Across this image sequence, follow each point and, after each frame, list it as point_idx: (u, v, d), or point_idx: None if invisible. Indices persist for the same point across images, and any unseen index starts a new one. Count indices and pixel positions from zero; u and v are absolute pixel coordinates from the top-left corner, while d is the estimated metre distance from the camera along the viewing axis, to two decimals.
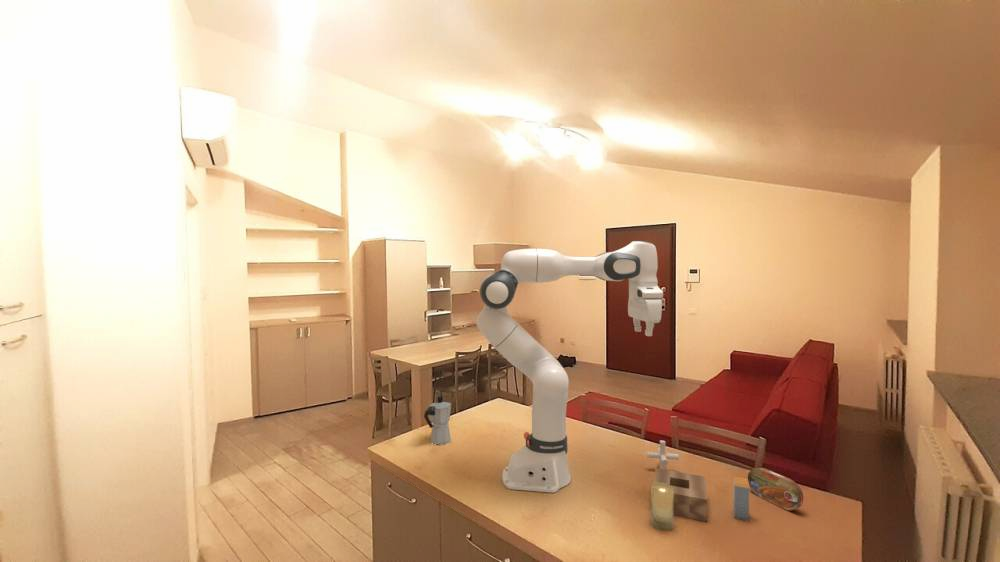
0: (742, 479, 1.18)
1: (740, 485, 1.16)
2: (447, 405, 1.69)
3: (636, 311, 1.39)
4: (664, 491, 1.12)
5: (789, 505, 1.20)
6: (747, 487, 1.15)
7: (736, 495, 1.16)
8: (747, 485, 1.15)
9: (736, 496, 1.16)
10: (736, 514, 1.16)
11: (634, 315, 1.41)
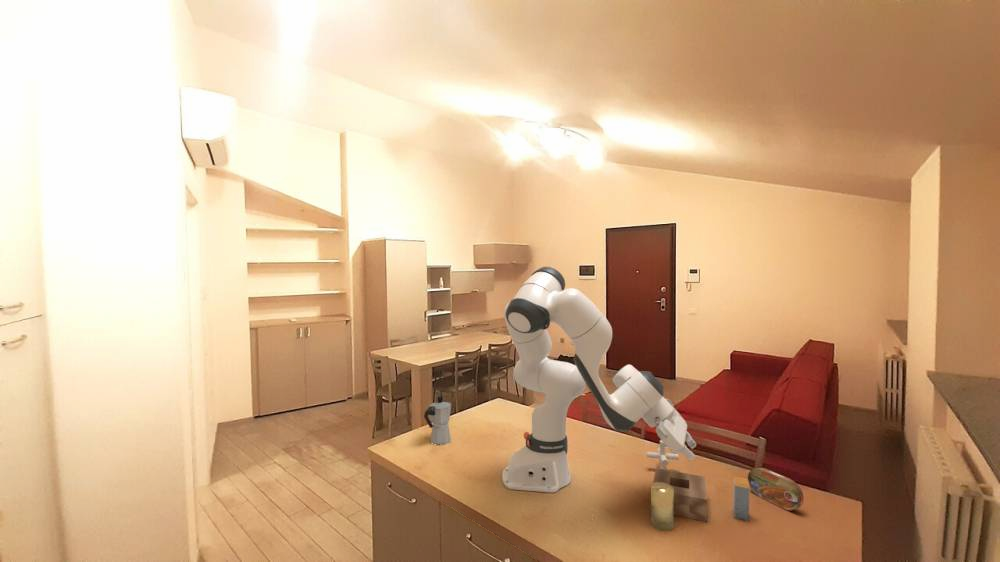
0: (742, 479, 1.18)
1: (740, 485, 1.16)
2: (447, 405, 1.69)
3: (679, 429, 1.22)
4: (664, 491, 1.12)
5: (789, 505, 1.20)
6: (747, 487, 1.15)
7: (736, 495, 1.16)
8: (747, 485, 1.15)
9: (736, 496, 1.16)
10: (736, 514, 1.16)
11: (683, 436, 1.20)
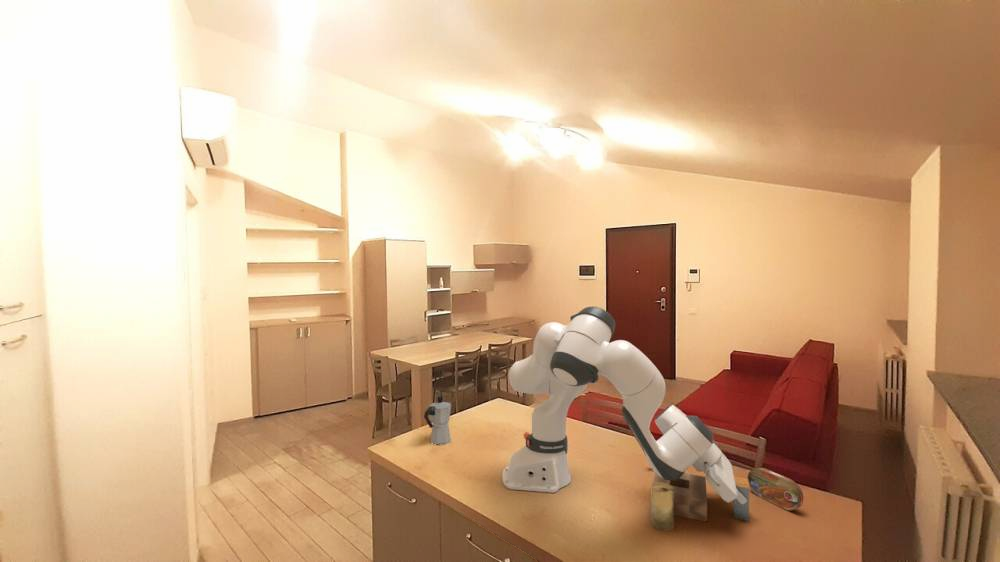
0: (742, 479, 1.18)
1: (740, 485, 1.16)
2: (447, 405, 1.69)
3: (728, 473, 1.18)
4: (664, 491, 1.12)
5: (789, 505, 1.20)
6: (747, 487, 1.15)
7: None
8: (747, 485, 1.15)
9: None
10: (736, 514, 1.16)
11: (733, 481, 1.15)
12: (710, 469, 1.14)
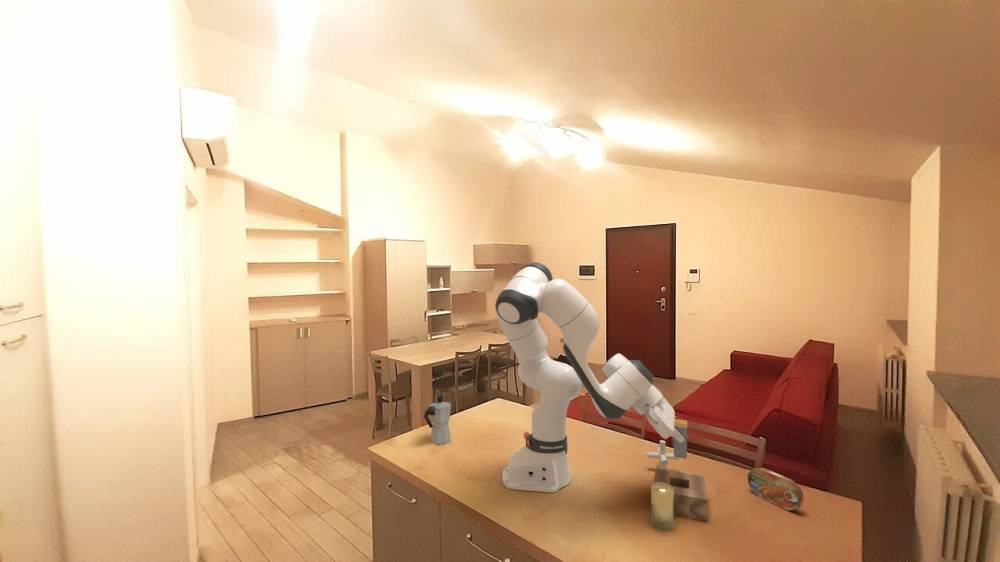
0: (682, 420, 1.25)
1: (679, 425, 1.23)
2: (447, 405, 1.69)
3: (668, 415, 1.25)
4: (664, 491, 1.12)
5: (789, 505, 1.20)
6: (685, 427, 1.22)
7: None
8: (685, 425, 1.22)
9: None
10: (675, 453, 1.23)
11: (672, 421, 1.22)
12: (650, 410, 1.21)
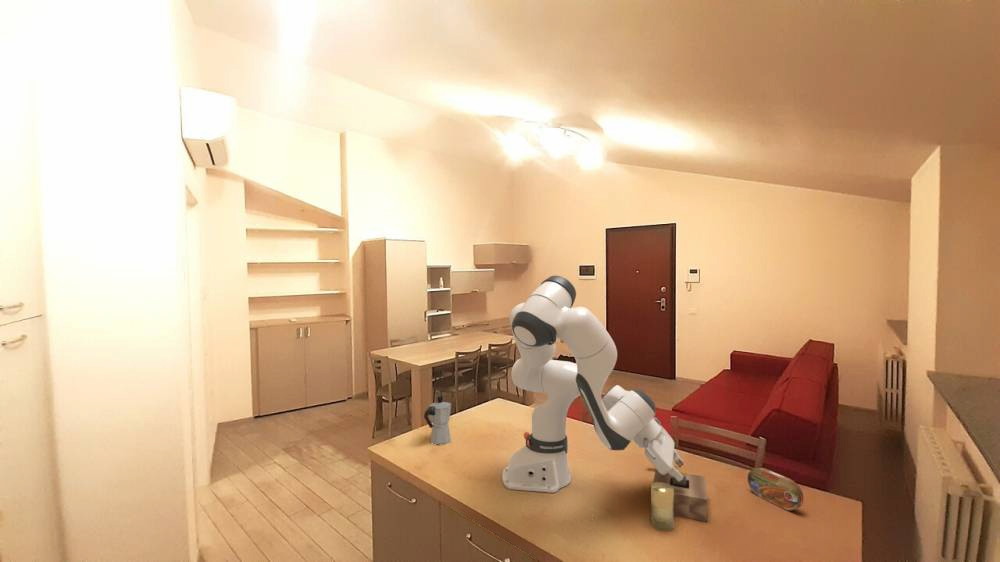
0: (681, 468, 1.24)
1: None
2: (447, 405, 1.69)
3: (667, 449, 1.24)
4: (664, 491, 1.12)
5: (789, 505, 1.20)
6: (684, 475, 1.22)
7: (674, 483, 1.23)
8: (684, 473, 1.22)
9: (674, 484, 1.23)
10: None
11: (671, 456, 1.22)
12: (649, 444, 1.21)
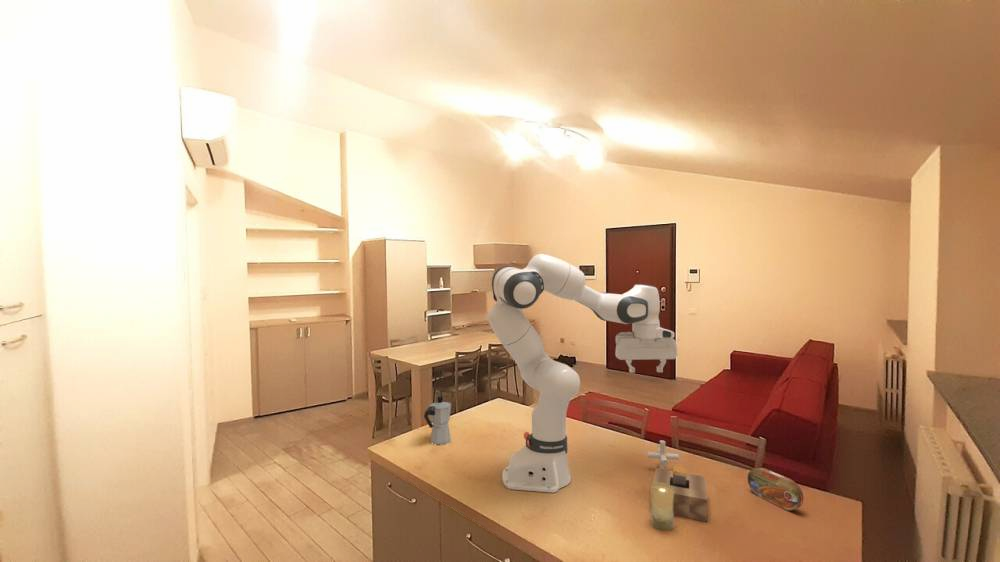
0: (681, 468, 1.24)
1: (678, 473, 1.22)
2: (447, 405, 1.69)
3: (645, 352, 1.43)
4: (664, 491, 1.12)
5: (789, 505, 1.20)
6: (684, 475, 1.22)
7: (674, 483, 1.23)
8: (684, 473, 1.22)
9: (674, 484, 1.23)
10: None
11: (639, 357, 1.43)
12: (627, 336, 1.44)
